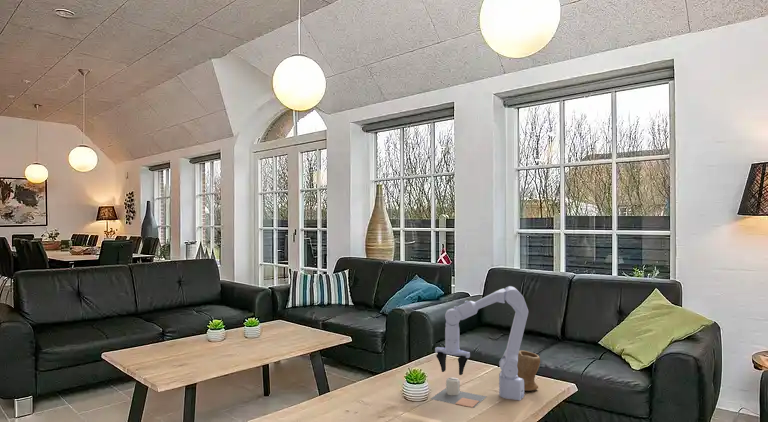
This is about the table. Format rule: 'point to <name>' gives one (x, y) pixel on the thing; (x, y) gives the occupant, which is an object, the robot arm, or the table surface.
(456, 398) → the base board
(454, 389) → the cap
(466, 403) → the terracotta pad
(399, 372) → the table surface
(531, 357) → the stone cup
